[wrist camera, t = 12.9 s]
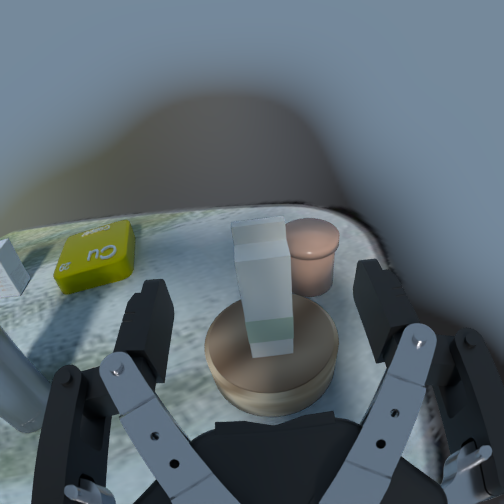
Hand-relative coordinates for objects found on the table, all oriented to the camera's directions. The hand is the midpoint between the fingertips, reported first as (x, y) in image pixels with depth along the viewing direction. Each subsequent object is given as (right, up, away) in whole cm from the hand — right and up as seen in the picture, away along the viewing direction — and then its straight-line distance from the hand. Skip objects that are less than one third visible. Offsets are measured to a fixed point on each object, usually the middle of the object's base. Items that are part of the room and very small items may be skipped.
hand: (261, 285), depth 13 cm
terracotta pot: (+8, -3, +32) cm, 33 cm away
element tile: (-30, -1, +42) cm, 52 cm away
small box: (-51, -7, +38) cm, 64 cm away
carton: (+1, -7, +18) cm, 20 cm away
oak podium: (+2, -11, +21) cm, 24 cm away
